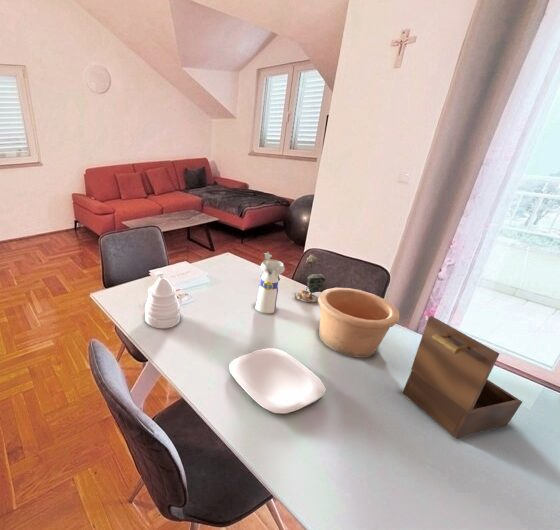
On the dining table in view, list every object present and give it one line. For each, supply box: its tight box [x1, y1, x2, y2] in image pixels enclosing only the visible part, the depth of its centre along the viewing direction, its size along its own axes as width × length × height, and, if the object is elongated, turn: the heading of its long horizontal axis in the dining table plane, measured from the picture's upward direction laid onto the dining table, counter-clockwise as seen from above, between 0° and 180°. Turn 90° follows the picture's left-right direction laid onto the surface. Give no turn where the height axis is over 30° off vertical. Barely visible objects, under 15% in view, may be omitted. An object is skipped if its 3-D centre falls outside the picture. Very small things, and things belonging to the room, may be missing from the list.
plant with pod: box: [294, 254, 326, 303], centre depth 125 cm, size 8×11×20 cm
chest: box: [401, 370, 523, 439], centre depth 78 cm, size 16×14×8 cm
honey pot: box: [144, 270, 181, 329], centre depth 112 cm, size 13×13×18 cm
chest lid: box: [410, 315, 500, 413], centre depth 71 cm, size 16×14×4 cm
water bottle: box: [254, 251, 286, 315], centre depth 117 cm, size 8×8×25 cm
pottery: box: [317, 287, 400, 358], centre depth 101 cm, size 22×22×14 cm
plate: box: [228, 347, 327, 415], centre depth 87 cm, size 22×22×2 cm
